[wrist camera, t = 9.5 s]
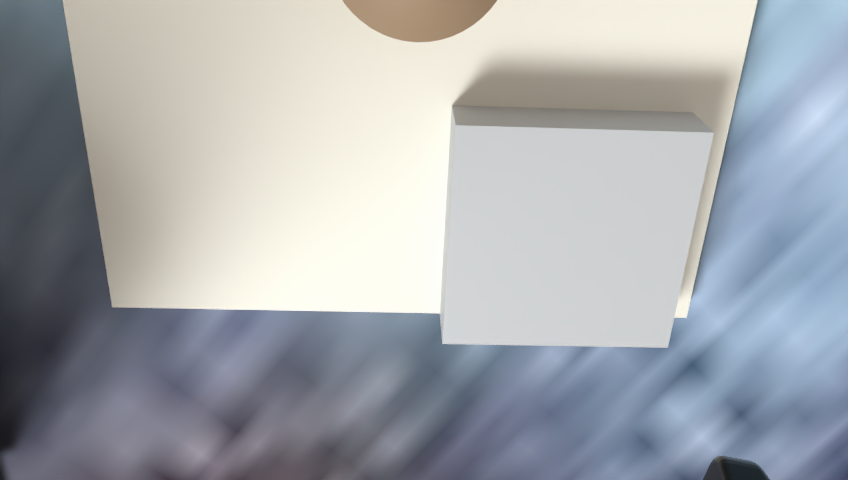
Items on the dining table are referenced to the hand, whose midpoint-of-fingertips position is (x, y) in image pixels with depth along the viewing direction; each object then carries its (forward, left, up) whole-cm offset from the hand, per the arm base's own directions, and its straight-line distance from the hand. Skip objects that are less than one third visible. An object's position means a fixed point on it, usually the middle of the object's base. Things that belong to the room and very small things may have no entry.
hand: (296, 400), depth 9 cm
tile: (+1, 0, -12) cm, 13 cm away
